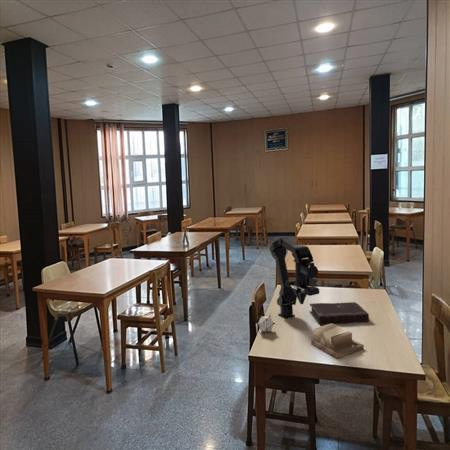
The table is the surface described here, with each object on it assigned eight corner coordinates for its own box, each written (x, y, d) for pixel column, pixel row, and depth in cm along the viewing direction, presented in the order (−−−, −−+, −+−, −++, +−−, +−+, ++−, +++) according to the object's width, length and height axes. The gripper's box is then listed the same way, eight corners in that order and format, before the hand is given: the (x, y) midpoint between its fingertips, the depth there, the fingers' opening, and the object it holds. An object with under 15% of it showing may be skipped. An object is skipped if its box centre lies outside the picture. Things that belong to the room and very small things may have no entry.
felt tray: (311, 344, 162) (311, 340, 162) (337, 335, 169) (337, 332, 169) (336, 358, 149) (336, 354, 149) (363, 349, 156) (363, 345, 156)
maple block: (314, 328, 163) (334, 338, 153) (331, 323, 168) (352, 332, 157) (314, 341, 164) (334, 352, 154) (331, 335, 169) (351, 346, 158)
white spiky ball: (268, 337, 179) (277, 318, 181) (270, 338, 171) (280, 319, 173) (251, 328, 180) (261, 309, 182) (253, 329, 171) (263, 309, 173)
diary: (369, 323, 183) (369, 313, 182) (319, 326, 181) (319, 316, 181) (354, 309, 201) (354, 300, 200) (308, 311, 200) (308, 303, 199)
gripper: (328, 274, 171) (328, 306, 173) (301, 266, 187) (302, 295, 189) (309, 278, 166) (309, 311, 168) (284, 269, 182) (284, 299, 184)
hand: (301, 304), depth 178 cm, fingers closed
